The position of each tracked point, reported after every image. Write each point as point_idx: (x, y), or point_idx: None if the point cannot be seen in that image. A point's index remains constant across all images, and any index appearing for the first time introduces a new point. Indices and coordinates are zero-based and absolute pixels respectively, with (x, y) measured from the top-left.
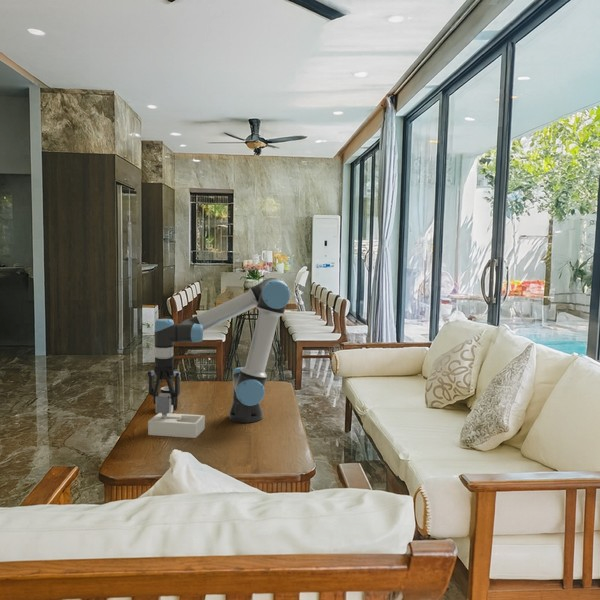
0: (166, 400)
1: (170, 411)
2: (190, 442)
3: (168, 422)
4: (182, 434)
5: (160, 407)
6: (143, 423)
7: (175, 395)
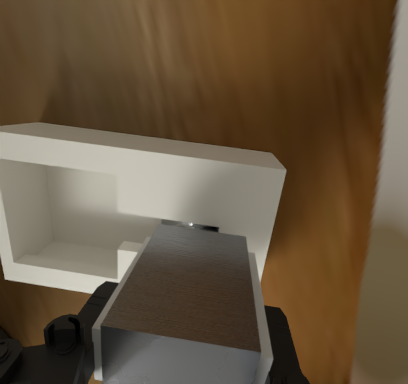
0: (136, 292)
1: (144, 243)
2: (36, 55)
3: (148, 151)
4: (94, 132)
5: (211, 254)
6: (322, 298)
7: (13, 351)
